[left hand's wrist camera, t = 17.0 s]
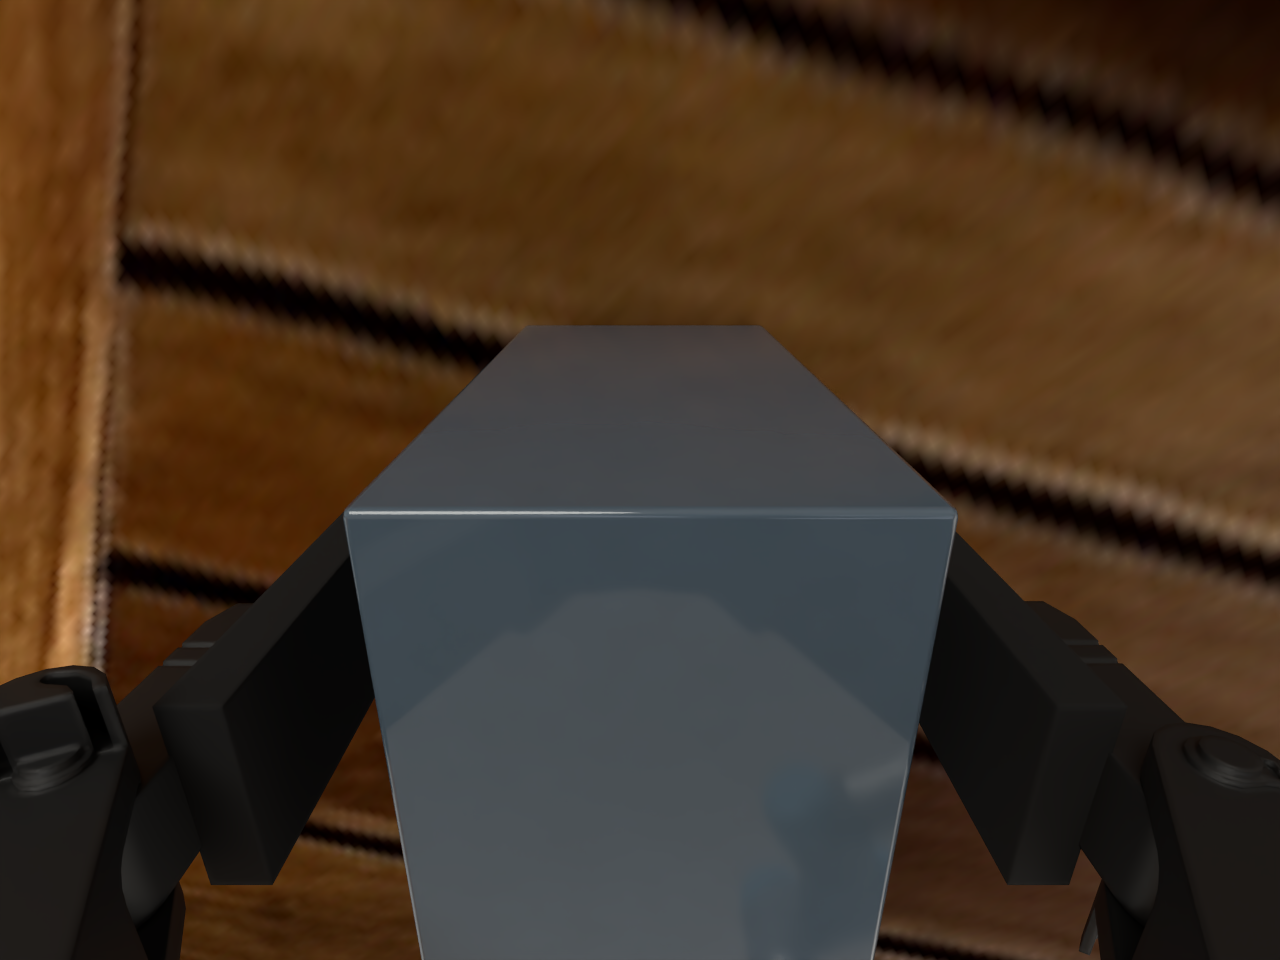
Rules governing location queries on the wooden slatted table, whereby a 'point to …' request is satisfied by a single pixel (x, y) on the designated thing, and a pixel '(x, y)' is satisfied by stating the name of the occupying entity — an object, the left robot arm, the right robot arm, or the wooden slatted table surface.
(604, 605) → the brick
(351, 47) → the wooden slatted table surface
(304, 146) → the wooden slatted table surface
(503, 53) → the wooden slatted table surface
